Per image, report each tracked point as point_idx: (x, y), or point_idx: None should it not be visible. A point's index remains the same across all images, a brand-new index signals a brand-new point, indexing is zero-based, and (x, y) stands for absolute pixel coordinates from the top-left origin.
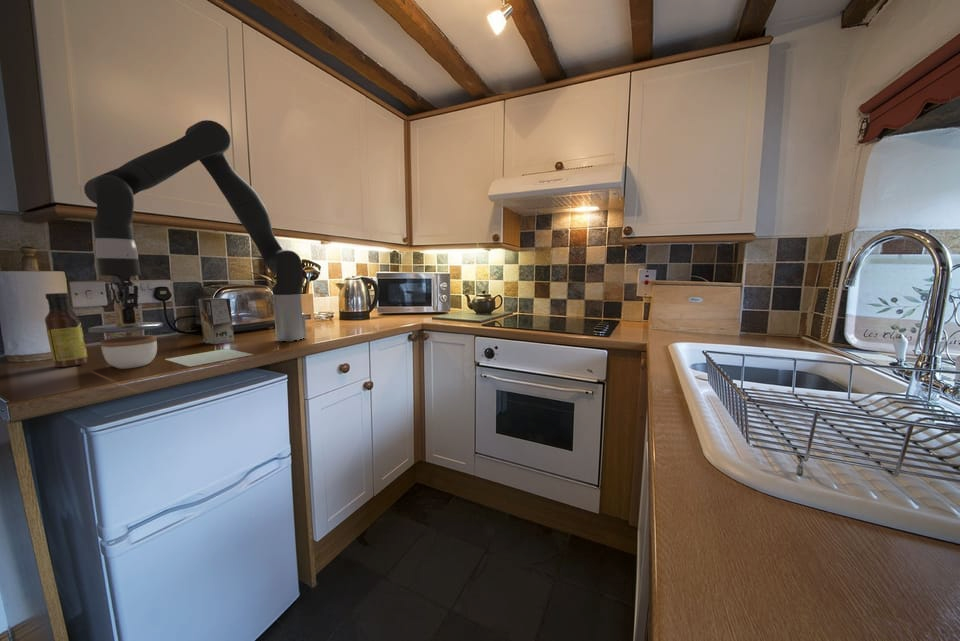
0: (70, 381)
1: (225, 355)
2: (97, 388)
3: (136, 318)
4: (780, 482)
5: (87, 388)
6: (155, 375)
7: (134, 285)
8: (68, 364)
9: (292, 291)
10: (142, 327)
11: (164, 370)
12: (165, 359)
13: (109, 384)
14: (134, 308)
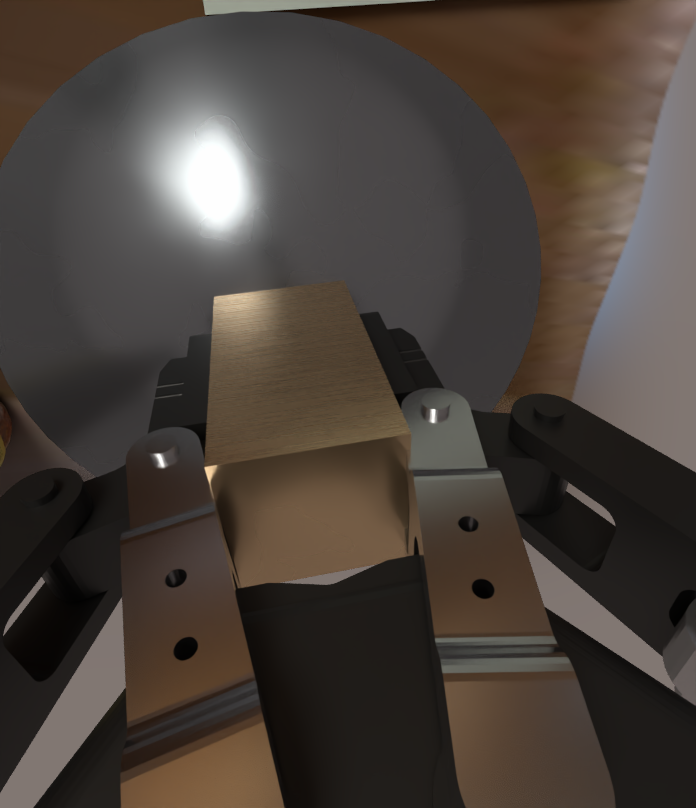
0: None
1: None
2: (579, 361)
3: (356, 314)
4: None
5: (546, 381)
6: (596, 183)
7: (596, 751)
8: (9, 431)
9: None
10: (540, 274)
11: (532, 119)
12: (223, 13)
13: (562, 332)
14: (445, 395)
